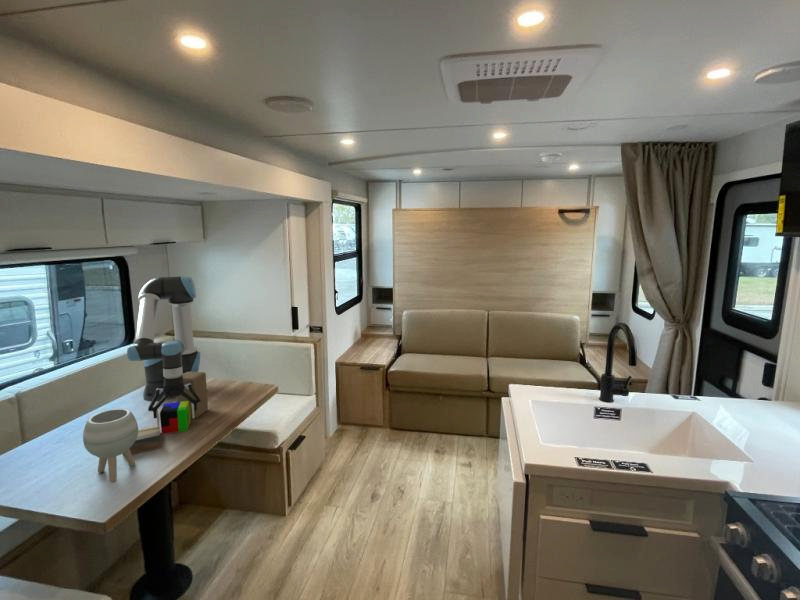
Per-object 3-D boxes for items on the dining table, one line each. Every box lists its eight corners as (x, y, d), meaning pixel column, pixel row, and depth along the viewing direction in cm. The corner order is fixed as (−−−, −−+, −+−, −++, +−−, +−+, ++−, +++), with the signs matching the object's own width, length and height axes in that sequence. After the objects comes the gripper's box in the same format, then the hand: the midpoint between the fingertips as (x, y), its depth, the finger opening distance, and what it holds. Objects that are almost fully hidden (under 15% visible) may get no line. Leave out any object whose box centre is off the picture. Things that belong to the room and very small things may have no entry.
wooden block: (209, 409, 198) (206, 371, 195) (197, 419, 189) (194, 379, 185) (190, 408, 199) (187, 370, 196) (177, 417, 190) (174, 377, 186)
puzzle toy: (166, 424, 184) (164, 403, 182) (190, 420, 187) (188, 400, 185) (161, 434, 174) (159, 412, 173) (187, 430, 178) (185, 409, 176)
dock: (124, 439, 169) (123, 427, 168) (160, 432, 176) (158, 420, 175) (123, 456, 157) (121, 443, 156) (161, 447, 164) (160, 435, 163)
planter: (85, 472, 146) (78, 415, 142) (136, 455, 157) (131, 402, 154) (91, 492, 135) (84, 431, 131) (146, 473, 146) (141, 416, 142)
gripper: (139, 383, 167) (143, 430, 170) (205, 373, 181) (207, 417, 184) (139, 378, 173) (143, 423, 176) (203, 369, 187) (205, 411, 190)
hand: (176, 421), depth 180 cm, fingers open, 13 cm apart
